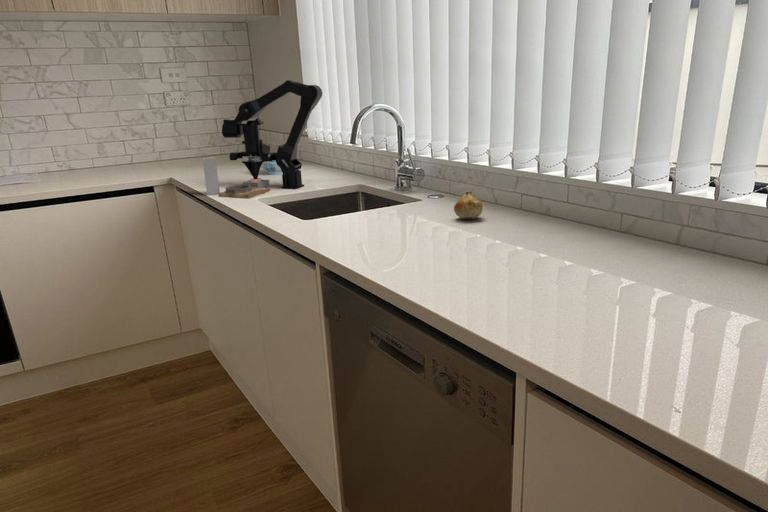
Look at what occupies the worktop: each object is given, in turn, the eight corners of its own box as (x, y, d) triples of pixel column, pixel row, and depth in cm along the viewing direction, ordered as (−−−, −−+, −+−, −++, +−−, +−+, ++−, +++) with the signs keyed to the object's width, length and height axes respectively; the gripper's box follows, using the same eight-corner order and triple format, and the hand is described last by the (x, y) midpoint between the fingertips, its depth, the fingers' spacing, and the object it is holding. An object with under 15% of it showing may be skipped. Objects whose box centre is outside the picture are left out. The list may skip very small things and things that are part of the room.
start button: (263, 184, 220) (263, 178, 219) (257, 186, 217) (256, 180, 216) (255, 184, 222) (254, 177, 221) (248, 185, 218) (248, 179, 217)
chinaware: (276, 169, 261) (274, 152, 259) (299, 172, 253) (298, 154, 251) (251, 174, 250) (249, 157, 248) (275, 177, 241) (273, 158, 239)
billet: (219, 192, 212) (215, 157, 208) (219, 194, 208) (215, 158, 204) (207, 193, 211) (202, 157, 207) (207, 195, 207) (202, 159, 203)
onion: (448, 218, 162) (448, 190, 160) (472, 214, 165) (473, 187, 163) (462, 223, 155) (462, 194, 153) (487, 220, 158) (488, 191, 156)
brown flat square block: (270, 191, 210) (269, 184, 209) (248, 198, 199) (247, 190, 198) (242, 189, 216) (241, 182, 215) (219, 196, 204) (218, 188, 204)
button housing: (269, 186, 221) (268, 179, 220) (258, 189, 215) (257, 182, 214) (254, 185, 224) (254, 179, 223) (243, 188, 218) (242, 182, 217)
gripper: (284, 135, 217) (288, 176, 221) (244, 135, 225) (249, 174, 229) (267, 138, 207) (271, 181, 212) (226, 138, 215) (231, 179, 220)
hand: (255, 179), depth 218 cm, fingers closed, pressing on start button
